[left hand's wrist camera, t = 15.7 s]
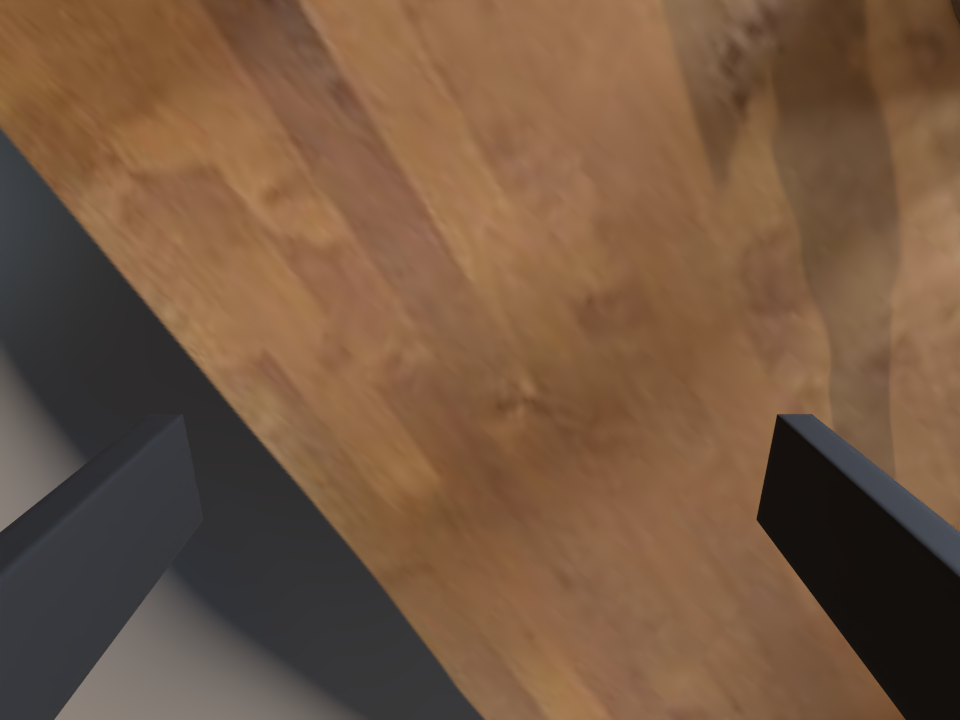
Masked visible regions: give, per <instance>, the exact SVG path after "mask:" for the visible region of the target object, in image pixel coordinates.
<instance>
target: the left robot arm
mask: <svg viewBox="0 0 960 720" xmlns="http://www.w3.org/2000/svg"><path fill="white" fill-rule="evenodd" d="M952 4H953V7H954V10H955V13H956V16H957V18H958V20H959V22H960V0H952ZM202 521H203V515H202V510H201V505H200V500H199V495H198V490H197V484H196V479H195V474H194V469H193V464H192V459H191V454H190V449H189V444H188V439H187V434H186V429H185V423H184V419H183V415H182V414H148V415H147V416H145V417H144V418H143V419H142V420H140V421H139V422H138V423H137V424H135V425H134V426H133V427H132V428H130V429H129V430H128V431H127V432H125V433H124V434H123V435H122V436H120V437H119V438H118V439H117V440H115V441H114V442H113V443H112V444H110V445H109V446H108V447H107V448H105V449H104V450H103V451H102V452H100V453H99V454H98V455H97V456H95V457H94V458H93V459H92V460H90V461H89V462H88V463H87V464H85V465H84V466H83V467H82V468H80V469H79V470H78V471H77V472H75V473H74V474H73V475H72V476H70V477H69V478H68V479H67V480H65V481H64V482H63V483H62V484H60V485H59V486H58V487H57V488H55V489H54V490H53V491H52V492H50V493H49V494H48V495H46V496H45V497H44V498H43V499H42V500H40V501H39V502H38V503H36V504H35V505H34V506H33V507H31V508H30V509H29V510H28V511H27V512H25V513H24V514H23V515H22V516H20V517H19V518H18V519H16V520H15V521H14V522H13V523H11V524H10V525H9V526H8V527H6V528H5V529H4V530H3V531H1V532H0V720H54V719H55V718H56V716H57V715H58V714H59V712H60V711H61V710H62V708H63V707H64V706H65V704H66V703H67V702H68V700H69V699H70V698H71V696H72V695H73V694H74V692H75V691H76V690H77V688H78V687H79V686H80V684H81V683H82V682H83V680H84V679H85V678H86V676H87V675H88V674H89V672H90V671H91V670H92V668H93V667H94V666H95V664H96V663H97V662H98V660H99V659H100V658H101V656H102V655H103V654H104V652H105V651H106V650H107V648H108V647H109V646H110V644H111V643H112V641H113V640H114V639H115V637H116V636H117V635H118V633H119V632H120V631H121V629H122V628H123V627H124V625H125V624H126V623H127V621H128V620H129V619H130V617H131V616H132V615H133V613H134V612H135V611H136V609H137V608H138V607H139V605H140V604H141V603H142V601H143V600H144V599H145V597H146V596H147V595H148V593H149V592H150V591H151V589H152V588H153V586H154V585H155V584H156V583H157V581H158V580H159V579H160V577H161V576H162V574H163V573H164V572H165V571H166V569H167V568H168V566H169V565H170V564H171V562H172V561H173V560H174V558H175V557H176V556H177V554H178V553H179V552H180V550H181V549H182V548H183V546H184V545H185V544H186V542H187V541H188V540H189V538H190V537H191V536H192V534H193V533H194V532H195V530H196V529H197V528H198V526H199V525H200V524H201V522H202ZM757 521H758V522H759V524H760V525H761V526H762V528H763V529H764V530H765V532H766V533H767V534H768V536H769V537H770V538H771V540H772V541H773V542H774V544H775V545H776V546H777V548H778V549H779V550H780V552H781V553H782V554H783V556H784V557H785V558H786V560H787V561H788V562H789V564H790V565H791V567H792V568H793V569H794V571H795V572H796V573H797V575H798V576H799V577H800V579H801V580H802V581H803V583H804V584H805V585H806V587H807V588H808V589H809V591H810V592H811V593H812V595H813V596H814V597H815V599H816V600H817V601H818V603H819V604H820V605H821V607H822V608H823V609H824V611H825V612H826V613H827V615H828V616H829V617H830V619H831V620H832V621H833V623H834V624H835V625H836V627H837V628H838V629H839V631H840V632H841V633H842V635H843V636H844V637H845V639H846V640H847V642H848V643H849V644H850V646H851V647H852V648H853V650H854V651H855V652H856V654H857V655H858V656H859V658H860V659H861V660H862V662H863V663H864V664H865V666H866V667H867V668H868V670H869V671H870V672H871V674H872V675H873V676H874V678H875V679H876V680H877V682H878V683H879V684H880V686H881V687H882V688H883V690H884V691H885V692H886V694H887V695H888V696H889V698H890V699H891V700H892V702H893V703H894V704H895V706H896V707H897V708H898V710H899V711H900V712H901V714H902V715H903V717H904V718H905V719H906V720H960V532H959V531H957V530H956V529H955V528H954V527H952V526H951V525H950V524H949V523H947V522H946V521H945V520H944V519H942V518H941V517H940V516H939V515H937V514H936V513H935V512H934V511H932V510H931V509H930V508H929V507H927V506H926V505H925V504H924V503H922V502H921V501H920V500H919V499H917V498H916V497H915V496H913V495H912V494H911V493H910V492H908V491H907V490H906V489H905V488H903V487H902V486H901V485H900V484H898V483H897V482H896V481H895V480H893V479H892V478H891V477H890V476H888V475H887V474H886V473H885V472H883V471H882V470H881V469H880V468H878V467H877V466H876V465H875V464H873V463H872V462H871V461H870V460H868V459H867V458H866V457H865V456H863V455H862V454H861V453H860V452H858V451H857V450H856V449H855V448H853V447H852V446H851V445H850V444H848V443H847V442H846V441H845V440H843V439H842V438H841V437H840V436H838V435H837V434H836V433H835V432H833V431H832V430H831V429H830V428H828V427H827V426H826V425H825V424H823V423H822V422H821V421H820V420H818V419H817V418H816V417H815V416H813V415H812V414H777V418H776V423H775V428H774V434H773V439H772V444H771V449H770V454H769V459H768V464H767V469H766V474H765V479H764V484H763V489H762V494H761V500H760V505H759V510H758V515H757Z"/></svg>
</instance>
